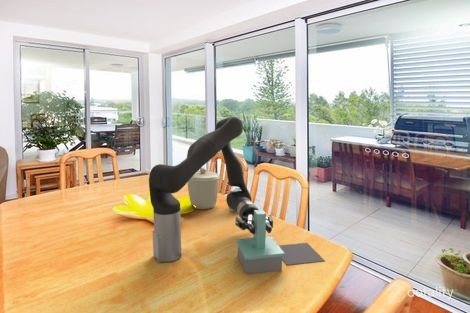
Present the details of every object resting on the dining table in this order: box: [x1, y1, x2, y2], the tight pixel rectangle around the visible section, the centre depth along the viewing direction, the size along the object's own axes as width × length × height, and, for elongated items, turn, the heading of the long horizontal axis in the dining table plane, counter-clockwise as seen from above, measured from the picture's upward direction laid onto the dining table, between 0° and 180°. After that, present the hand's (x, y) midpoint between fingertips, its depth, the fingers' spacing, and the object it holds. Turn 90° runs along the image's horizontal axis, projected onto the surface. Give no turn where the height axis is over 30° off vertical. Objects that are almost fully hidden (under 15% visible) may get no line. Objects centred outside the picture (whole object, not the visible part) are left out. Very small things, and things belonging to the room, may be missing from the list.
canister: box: [186, 167, 221, 210], centre depth 161 cm, size 18×18×21 cm
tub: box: [237, 246, 283, 275], centre depth 104 cm, size 12×12×6 cm
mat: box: [278, 242, 326, 266], centre depth 112 cm, size 14×14×1 cm
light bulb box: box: [229, 186, 241, 212], centre depth 160 cm, size 11×7×11 cm, turn 168°
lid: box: [235, 209, 284, 260], centre depth 103 cm, size 13×13×14 cm
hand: (262, 230), depth 100 cm, fingers open, 4 cm apart
